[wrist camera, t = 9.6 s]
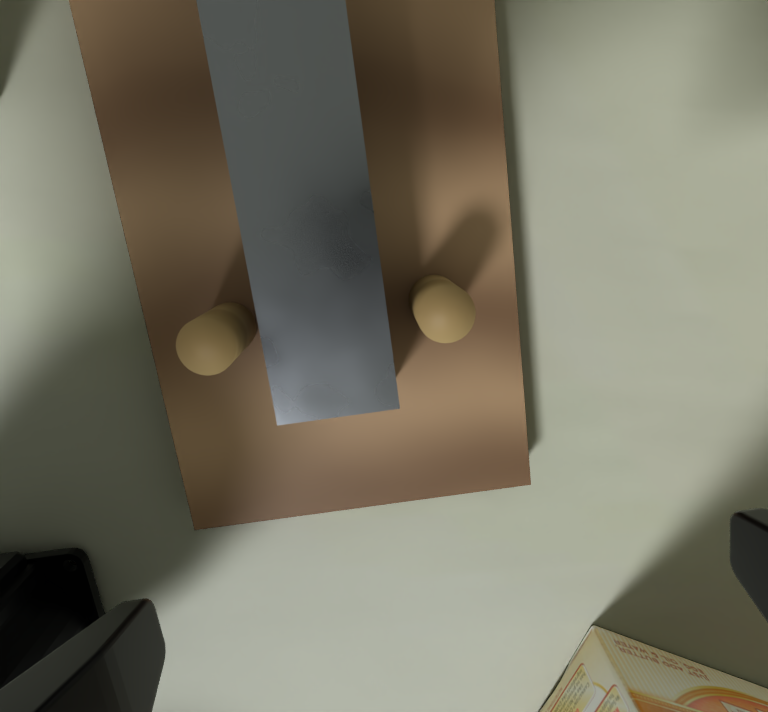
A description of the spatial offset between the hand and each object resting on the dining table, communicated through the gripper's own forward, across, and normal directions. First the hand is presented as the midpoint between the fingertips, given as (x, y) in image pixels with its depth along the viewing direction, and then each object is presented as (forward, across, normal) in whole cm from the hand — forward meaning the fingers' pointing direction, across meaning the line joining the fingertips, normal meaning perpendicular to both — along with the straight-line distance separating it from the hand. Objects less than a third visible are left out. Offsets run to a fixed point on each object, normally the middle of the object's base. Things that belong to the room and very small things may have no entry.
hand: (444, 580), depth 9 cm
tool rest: (+12, +2, -9) cm, 15 cm away
